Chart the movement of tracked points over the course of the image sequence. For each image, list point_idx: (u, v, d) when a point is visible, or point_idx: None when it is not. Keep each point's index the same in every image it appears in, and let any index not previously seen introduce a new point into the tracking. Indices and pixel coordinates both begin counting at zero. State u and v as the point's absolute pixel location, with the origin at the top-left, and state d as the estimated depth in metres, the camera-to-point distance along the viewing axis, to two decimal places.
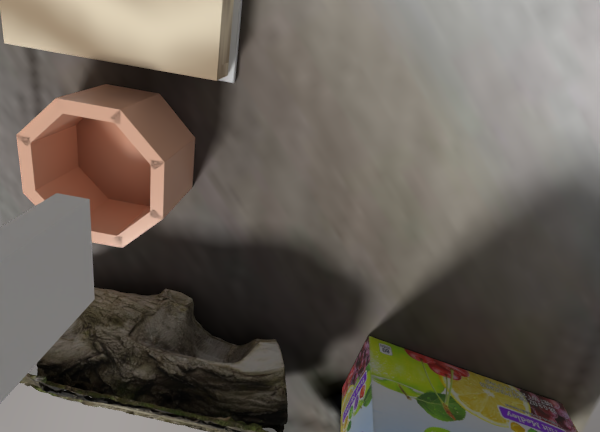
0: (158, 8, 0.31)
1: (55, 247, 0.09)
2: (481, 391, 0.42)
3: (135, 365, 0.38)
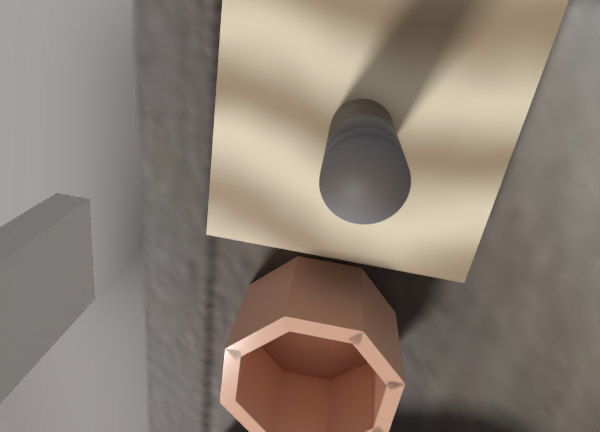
0: (409, 208, 0.25)
1: (55, 247, 0.09)
2: None
3: None
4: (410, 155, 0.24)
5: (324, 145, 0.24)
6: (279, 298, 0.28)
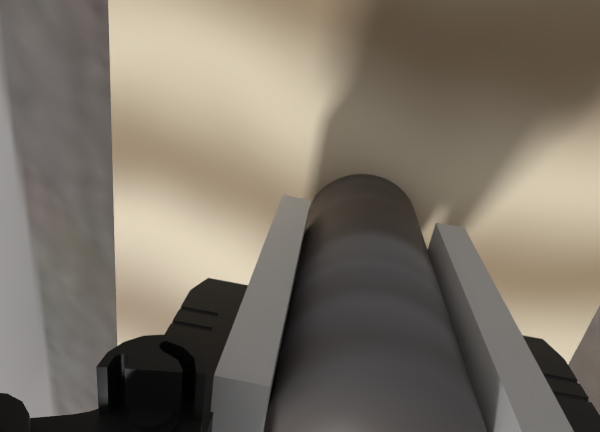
0: None
1: (302, 240, 0.11)
2: None
3: None
4: None
5: None
6: None
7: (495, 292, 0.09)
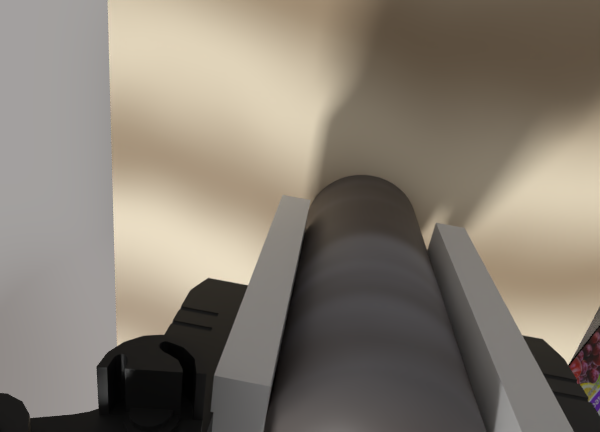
0: None
1: (302, 239, 0.11)
2: None
3: None
4: None
5: None
6: None
7: (495, 292, 0.09)
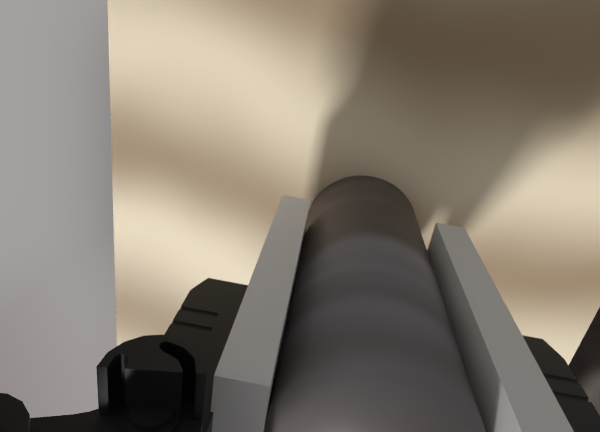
0: None
1: (302, 239, 0.11)
2: None
3: None
4: None
5: None
6: None
7: (495, 292, 0.09)
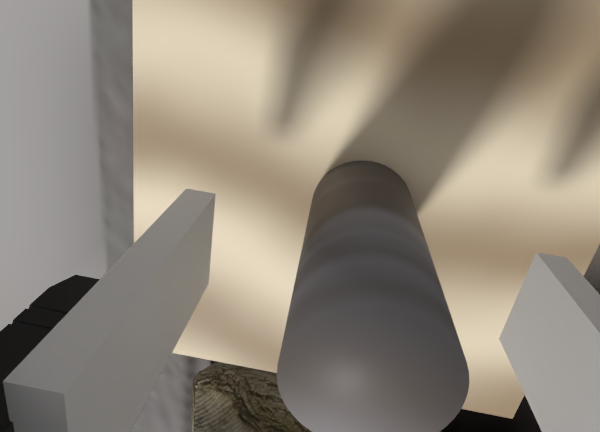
0: None
1: (198, 235, 0.10)
2: None
3: None
4: (438, 244, 0.16)
5: (304, 227, 0.16)
6: None
7: None
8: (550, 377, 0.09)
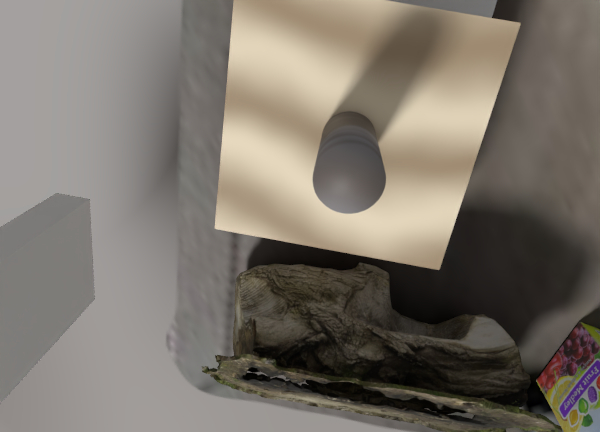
0: (390, 204, 0.30)
1: (55, 247, 0.09)
2: None
3: (358, 345, 0.34)
4: (391, 159, 0.28)
5: (317, 150, 0.29)
6: None
7: None
8: None
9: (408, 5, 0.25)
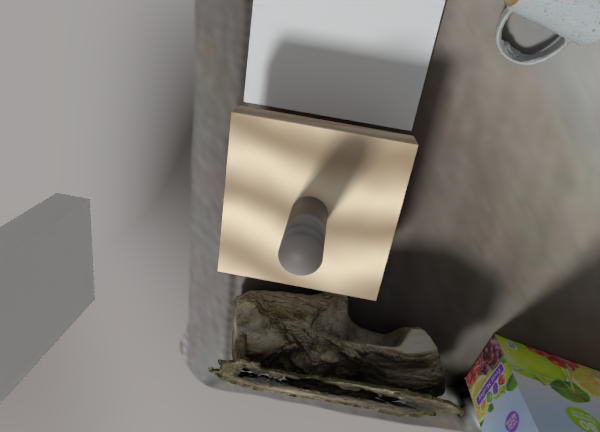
0: (339, 256, 0.42)
1: (56, 247, 0.09)
2: (594, 380, 0.51)
3: (320, 351, 0.47)
4: (338, 227, 0.41)
5: (288, 221, 0.41)
6: None
7: None
8: None
9: (344, 132, 0.38)
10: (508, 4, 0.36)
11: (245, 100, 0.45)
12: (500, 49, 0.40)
